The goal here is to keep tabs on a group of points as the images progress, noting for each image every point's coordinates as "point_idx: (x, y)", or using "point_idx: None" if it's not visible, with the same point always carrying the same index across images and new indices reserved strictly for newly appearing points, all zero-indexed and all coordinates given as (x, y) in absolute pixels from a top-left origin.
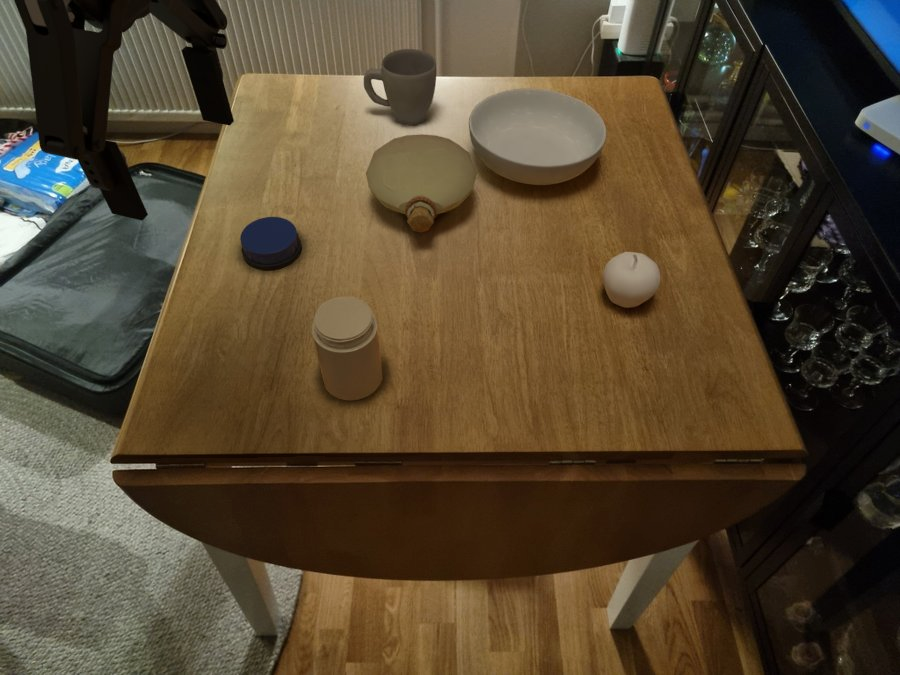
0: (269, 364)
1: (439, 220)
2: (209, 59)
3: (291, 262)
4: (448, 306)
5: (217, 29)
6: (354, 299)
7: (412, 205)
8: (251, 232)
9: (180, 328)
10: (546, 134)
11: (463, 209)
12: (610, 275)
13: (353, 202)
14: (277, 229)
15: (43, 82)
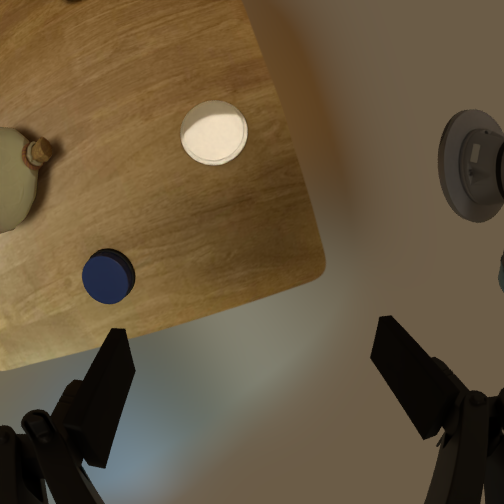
0: (227, 212)
1: None
2: (85, 422)
3: (116, 250)
4: (116, 93)
5: (20, 438)
6: (186, 129)
7: (32, 161)
8: (109, 296)
9: (218, 299)
10: None
11: None
12: None
13: (36, 234)
14: (95, 276)
15: None
